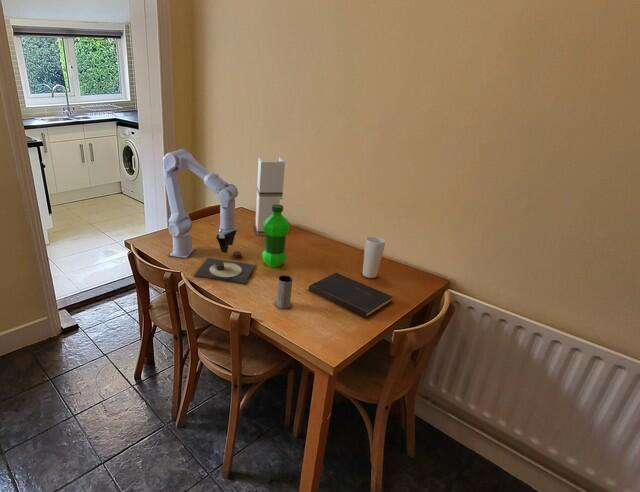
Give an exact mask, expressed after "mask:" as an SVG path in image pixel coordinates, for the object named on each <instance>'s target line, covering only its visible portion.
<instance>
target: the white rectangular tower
mask: <svg viewBox="0 0 640 492" xmlns="http://www.w3.org/2000/svg"><path fill="white" fill-rule="evenodd" d="M285 166H286V161H285V159H283V157H282V156H279V157H278V161H268V160H267V161H266V160H263V159H262V158H261V156H258V160H257V179H256V180H257V182H256V202H255V226H254V227H255V232H256V235H257V236H266V233H265V232H264V231H263V223H264V221H265V220H266V219H267V218H268V217H269V216H271V215H272V214H273V211H272V206H273V205H275V204H278V205H280V202H281V200H283V194H284V180H285Z"/></svg>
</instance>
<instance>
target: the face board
mask: <svg viewBox="0 0 640 492" xmlns="http://www.w3.org/2000/svg"><path fill="white" fill-rule="evenodd" d="M217 262H222V263H224V270H221V271H218V270H216V269H215V264H216V263H217ZM255 265H256V264H252V263H250V264H249V263H243V262H236V261H229V260H222V259H215V258H207V259H206V261H204V263H203V264H202V266H201V267H200V268H199V269H198V270H197V272H196V273H195V274H194V277H195V278H202V279H208V280H216V281H222V282H227V283H233V284H240V285H246V283H247V282H248V280H249V278H250V275H251V274H252V272H253V270H254V269H255Z"/></svg>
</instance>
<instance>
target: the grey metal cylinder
mask: <svg viewBox="0 0 640 492" xmlns="http://www.w3.org/2000/svg"><path fill="white" fill-rule="evenodd" d="M292 287H293V278H292V276H290V275H279V276H278V280H277V291H276V292H277V295H276V306H277V307H278V308H280V309H289V308H290V307H291V301H292Z"/></svg>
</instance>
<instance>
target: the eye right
mask: <svg viewBox="0 0 640 492" xmlns="http://www.w3.org/2000/svg"><path fill="white" fill-rule="evenodd" d="M242 255H243V253H242V252H241V251H238V250H237V251H233V252H232V258H233V259H235V260H240V259H242Z"/></svg>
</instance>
